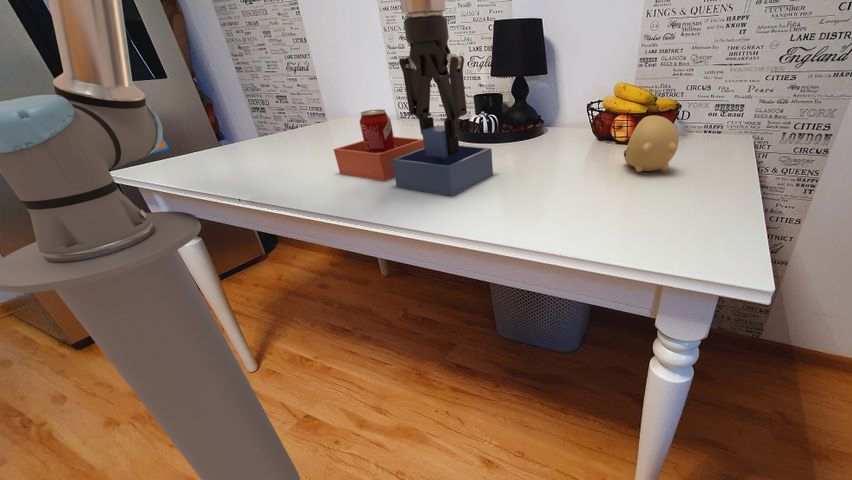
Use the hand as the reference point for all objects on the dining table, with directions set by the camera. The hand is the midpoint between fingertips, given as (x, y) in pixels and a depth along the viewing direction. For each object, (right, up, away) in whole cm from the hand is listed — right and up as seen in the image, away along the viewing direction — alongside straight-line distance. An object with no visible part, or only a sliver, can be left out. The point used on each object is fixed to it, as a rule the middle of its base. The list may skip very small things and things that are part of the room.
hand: (442, 152), depth 81 cm
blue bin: (0, -5, +3) cm, 6 cm away
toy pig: (+42, -3, +2) cm, 42 cm away
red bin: (-16, +1, +14) cm, 21 cm away
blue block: (0, 0, 0) cm, 0 cm away
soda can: (-16, +1, +14) cm, 21 cm away
